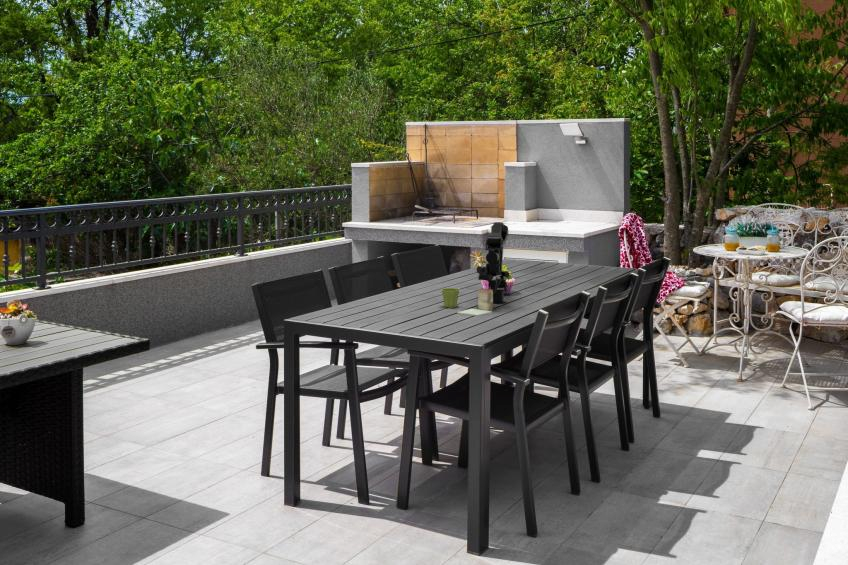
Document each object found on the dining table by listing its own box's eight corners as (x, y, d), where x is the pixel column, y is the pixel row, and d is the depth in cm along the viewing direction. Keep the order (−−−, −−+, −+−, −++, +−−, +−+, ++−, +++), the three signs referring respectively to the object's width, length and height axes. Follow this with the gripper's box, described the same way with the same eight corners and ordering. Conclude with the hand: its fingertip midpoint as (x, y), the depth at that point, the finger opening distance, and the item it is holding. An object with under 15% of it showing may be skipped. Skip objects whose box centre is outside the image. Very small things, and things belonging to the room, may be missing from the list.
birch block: (484, 309, 460) (484, 288, 458) (492, 310, 457) (492, 289, 455) (478, 310, 456) (478, 289, 455) (486, 311, 453) (486, 290, 452)
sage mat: (471, 309, 458) (471, 308, 458) (492, 312, 450) (492, 311, 450) (456, 313, 449) (456, 312, 449) (477, 315, 441) (477, 314, 441)
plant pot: (444, 308, 460) (444, 291, 459) (438, 305, 469) (438, 288, 468) (462, 308, 463) (462, 290, 461) (456, 304, 472) (456, 287, 470)
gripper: (491, 258, 471) (491, 289, 473) (469, 261, 456) (469, 293, 458) (510, 260, 464) (509, 291, 466) (488, 263, 449) (488, 296, 452)
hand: (493, 293), depth 461 cm, fingers closed
